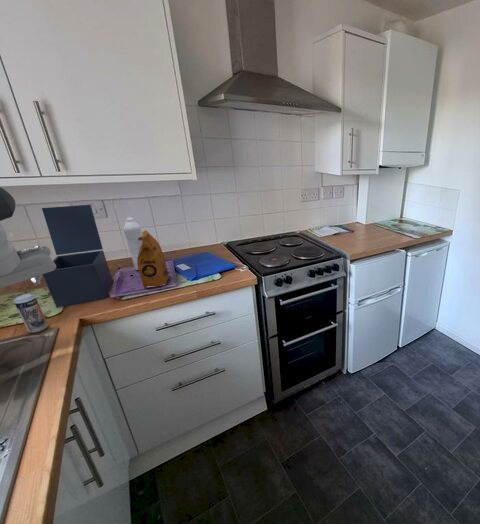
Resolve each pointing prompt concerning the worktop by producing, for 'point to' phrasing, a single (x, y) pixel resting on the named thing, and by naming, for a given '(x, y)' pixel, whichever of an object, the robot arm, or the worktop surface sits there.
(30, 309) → the beer can
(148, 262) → the coffee package
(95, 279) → the storage box
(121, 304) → the worktop surface
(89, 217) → the box lid
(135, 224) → the water bottle
